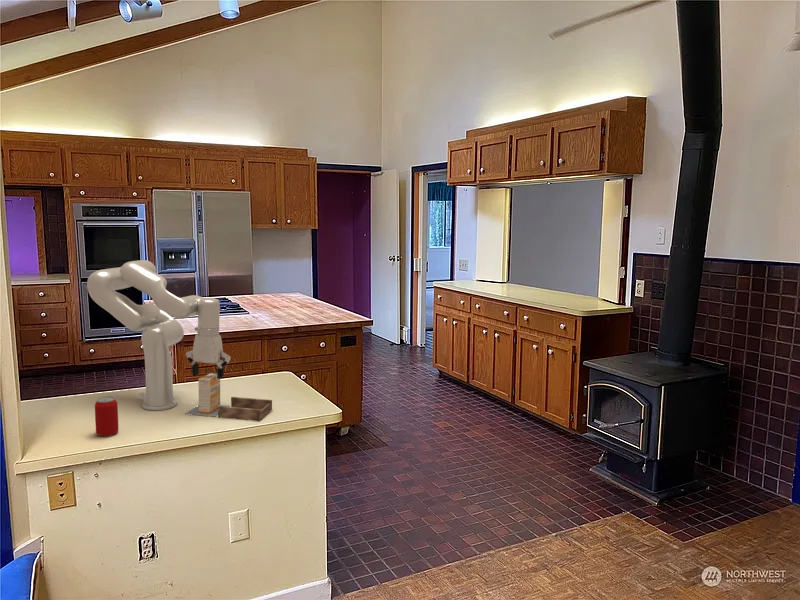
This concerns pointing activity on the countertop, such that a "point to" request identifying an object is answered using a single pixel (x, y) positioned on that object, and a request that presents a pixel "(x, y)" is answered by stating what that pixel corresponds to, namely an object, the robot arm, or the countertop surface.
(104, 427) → the beverage can
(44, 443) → the countertop surface
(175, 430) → the countertop surface
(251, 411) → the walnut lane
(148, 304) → the robot arm
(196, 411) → the mat
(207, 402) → the supplement box
